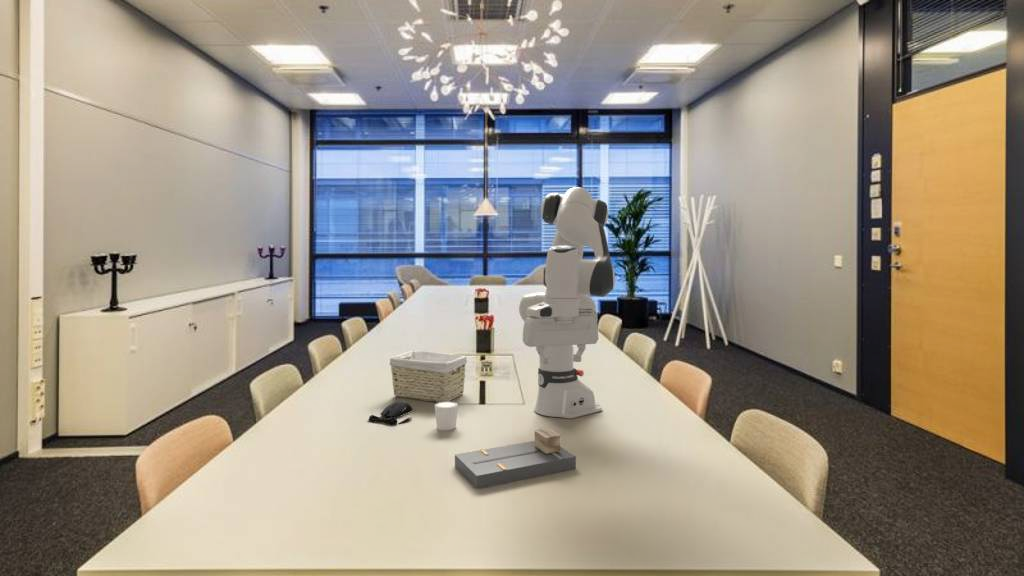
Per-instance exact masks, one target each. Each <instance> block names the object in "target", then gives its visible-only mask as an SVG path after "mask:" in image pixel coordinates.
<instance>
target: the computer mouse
mask: <svg viewBox="0 0 1024 576" xmlns="http://www.w3.org/2000/svg"><path fill="white" fill-rule="evenodd" d="M412 410H413V406H411V405H410V404H409V403H408V402H406V401H402V400H400V401H398V400H397V401H394V402H392V403H391V404H389V405H388V406H386V407H385V408H384V409H383V410H382V411H381V412H380V416H381V417H382V418H381V417H378V416H377V415H374V414H371V415H369V416H368V422H369V423H381V424H384V423H385V425H388V424H389V425H388V426H396V425H397V424H398V425H401V424H402V423H403V424H405V423H407V422H409V421H410V420H411V419H413V417H412V416H410V417H407V418H405V419H403V420H402V421H400V422H399V423H398V418H400V417H402V416H403V414H404V415H407V414H409V413H408V412H410V411H411V412H413V411H412ZM411 412H410V413H411ZM406 413H407V414H406ZM401 415H402V416H401ZM384 417H385V418H384ZM403 424H402V425H403Z"/></svg>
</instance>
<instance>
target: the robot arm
mask: <svg viewBox="0 0 1024 576" xmlns="http://www.w3.org/2000/svg"><path fill="white" fill-rule="evenodd" d="M540 213H541V217H542V218H541V219H542V221H543V222H545V223H547V224H549V225H550V226H551V225H554V226H556V229H557V230H556V232H555V233H554V234H555V235H554V236H553V240H552V243H551V247H549V248H548V249H547V255H546V261H545V266H544V268H543V283H542V284H543V286H544V287H545V288H546V289H545V292H543V291H538V292H531V293H527V294H524V296H523V297H522V298H521V299H520V302H519V304H518V313H519V315H520V318H521V320H523V322H524V323H523V329H522V342H523V344H524V345H525V346H526V347H529V348H533V347H534V348H535V351H536V352H537V353H538V356H539V357H538V359H539V367H538V371H537V383H538V392H537V396H536V402H535V406H534V408H533V409H534V412H535V413H536V414H538V415H541V416H546V417H553V418H564V419H574V418H579V417H581V416H582V417H583V416H587V415H590V414H594V413H598V412H601V411H602V410H603V407H602V406H601V404H599V403H597V402H596V399H595V394H594V391H593V390H592V389H591V388H590V387H588V385H586V384H585V383H583V382H582V381H581V380H580V379H579V378H578V376H579V377H583V376H584V375H585V372H584V370H582V369H576V368H574V363H580V362H582V355H583V354H584V353H585V350H586V348H587V347H586V345H595V344H597V343H598V341H599V327H598V313H597V306H596V303H595V301H594V300H593V298H592V297H600V298H601V297H602V298H603V297H605V296H607V295H608V294H610V293H611V292H612V291H613V290H614V287H615V283H616V272H615V269H614V266H613V263H612V260H611V255H610V251H609V244H608V240H607V239H608V238H607V235H606V232H605V229H604V227H605V225H606V224H607V222H608V219H609V209H608V205H607V203H606V202H605V201H603V200H601V199H599V198H597V199H594V198H593V196H592V194H591V193H590V192H589V190H587V189H586V188H583V187H579V186H576V187H575V186H573V187H571V188H569V189H567V190H566V191H565V192H564V193H559V192H550V193H548V194H546V196H545V197H544V199H543V201H542V202H541V206H540ZM584 247H588V248H590V249H591V250H592V251H593V253H594V258H591V259H587V258H586V259H584V258H583V257H584ZM591 296H592V297H591ZM574 346H576V347H577V350H576V353H574Z"/></svg>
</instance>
